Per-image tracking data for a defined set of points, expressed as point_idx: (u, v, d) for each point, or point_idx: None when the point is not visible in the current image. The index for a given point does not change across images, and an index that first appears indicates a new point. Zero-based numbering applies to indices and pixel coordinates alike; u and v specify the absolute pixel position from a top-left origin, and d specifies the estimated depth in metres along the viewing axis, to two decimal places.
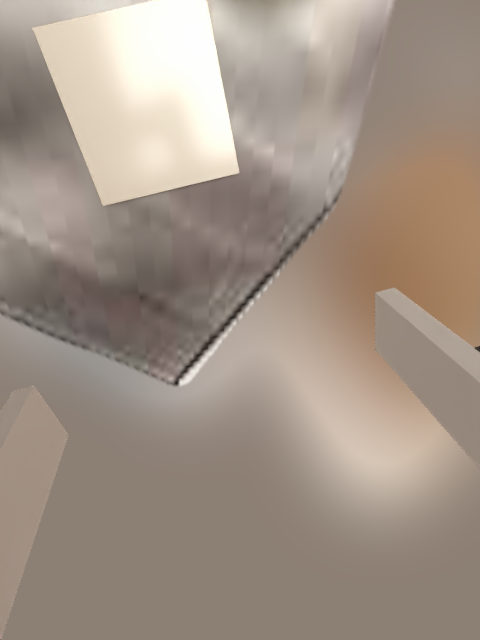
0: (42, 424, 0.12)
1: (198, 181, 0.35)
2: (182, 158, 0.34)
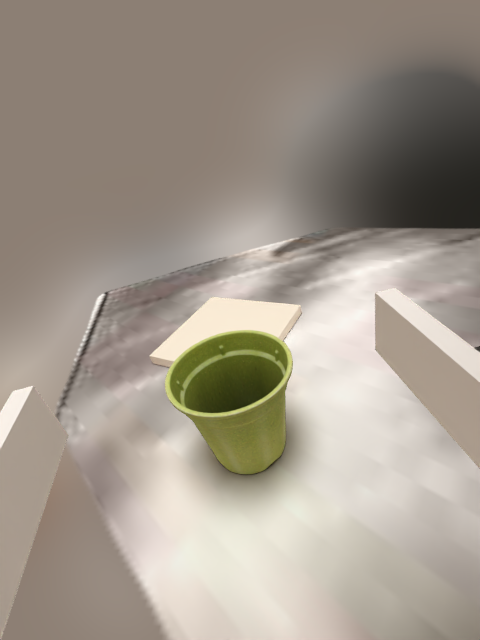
0: (42, 424, 0.12)
1: (171, 335, 0.45)
2: (190, 333, 0.44)
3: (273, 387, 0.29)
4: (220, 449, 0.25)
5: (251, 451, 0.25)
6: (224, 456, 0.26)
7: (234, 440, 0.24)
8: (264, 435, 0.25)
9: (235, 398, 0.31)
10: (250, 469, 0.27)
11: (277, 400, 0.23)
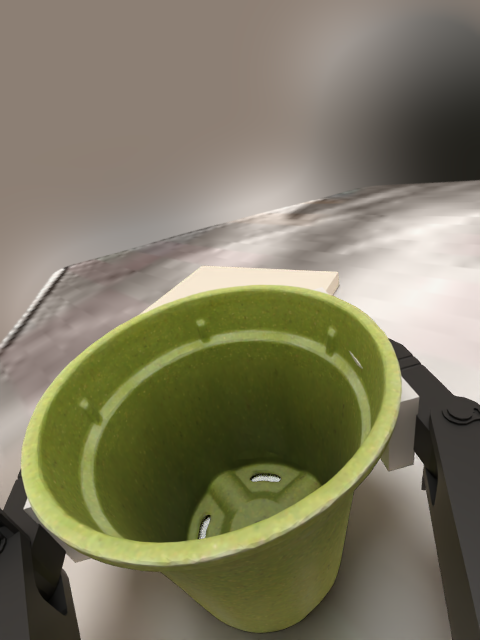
0: None
1: None
2: None
3: (315, 414, 0.13)
4: (185, 590, 0.09)
5: (269, 603, 0.09)
6: (198, 601, 0.10)
7: (221, 588, 0.08)
8: (308, 567, 0.09)
9: (230, 431, 0.15)
10: (264, 627, 0.11)
11: None
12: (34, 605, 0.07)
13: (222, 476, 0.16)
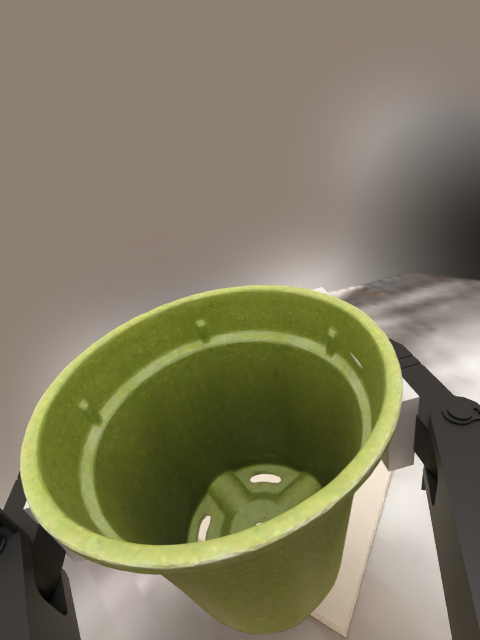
0: None
1: None
2: None
3: (316, 415, 0.13)
4: (185, 592, 0.09)
5: (269, 605, 0.09)
6: (198, 602, 0.10)
7: (221, 590, 0.08)
8: (308, 568, 0.08)
9: (231, 432, 0.15)
10: (264, 629, 0.10)
11: None
12: (34, 605, 0.07)
13: (222, 476, 0.16)
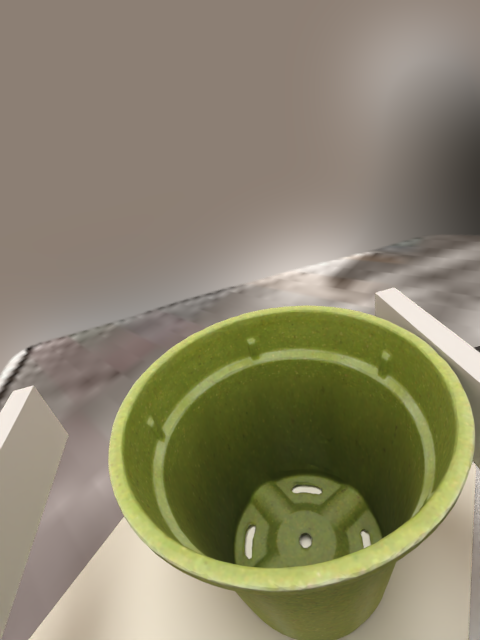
0: (42, 424, 0.12)
1: (108, 539, 0.16)
2: None
3: (362, 432, 0.13)
4: (250, 602, 0.10)
5: (332, 617, 0.10)
6: (259, 611, 0.10)
7: (293, 604, 0.09)
8: (372, 585, 0.09)
9: (273, 444, 0.16)
10: (319, 638, 0.11)
11: None
12: None
13: (264, 486, 0.16)
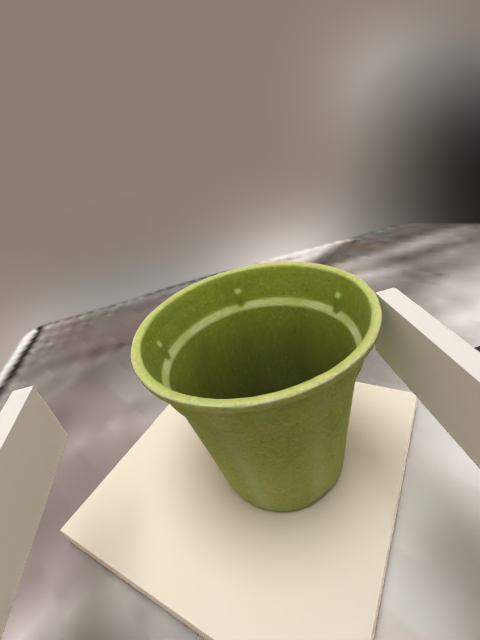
0: (42, 424, 0.12)
1: (123, 459, 0.20)
2: (164, 459, 0.19)
3: (325, 361, 0.17)
4: (233, 468, 0.14)
5: (291, 475, 0.13)
6: (240, 479, 0.14)
7: (261, 455, 0.12)
8: (318, 446, 0.13)
9: (257, 379, 0.19)
10: (285, 504, 0.15)
11: (352, 378, 0.11)
12: None
13: None
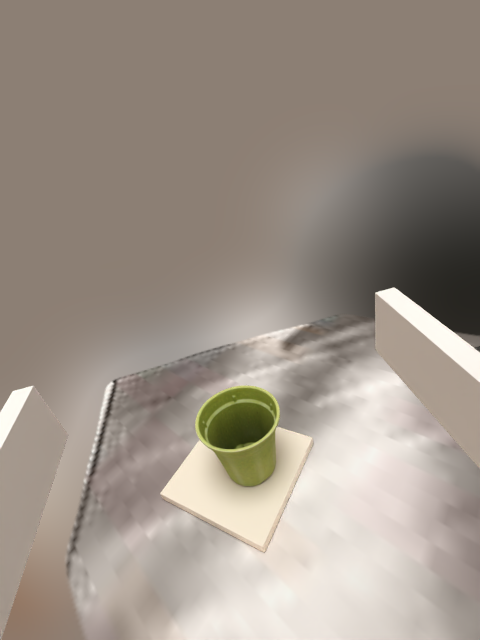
0: (42, 424, 0.12)
1: (182, 465, 0.45)
2: (201, 464, 0.44)
3: (268, 426, 0.42)
4: (230, 469, 0.38)
5: (250, 472, 0.38)
6: (232, 473, 0.39)
7: (239, 465, 0.37)
8: (259, 462, 0.37)
9: (242, 430, 0.44)
10: (249, 483, 0.39)
11: (267, 441, 0.36)
12: None
13: (239, 446, 0.45)
